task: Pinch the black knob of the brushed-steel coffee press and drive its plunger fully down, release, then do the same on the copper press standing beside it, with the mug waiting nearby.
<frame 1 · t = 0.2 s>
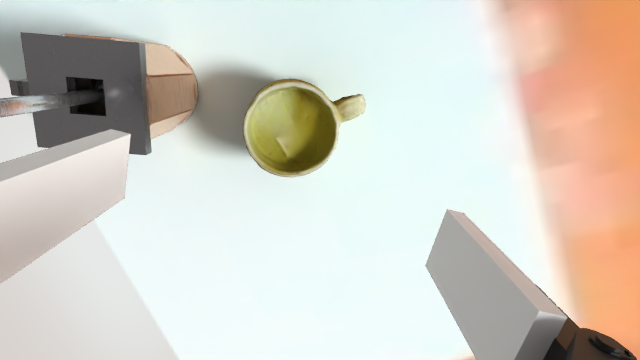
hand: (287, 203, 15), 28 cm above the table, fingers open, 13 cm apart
plunger copper: (29, 104, 23), point 19 cm above the table, slide at 0.0 cm
mug: (306, 117, 42), on the table
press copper: (156, 87, 41), on the table
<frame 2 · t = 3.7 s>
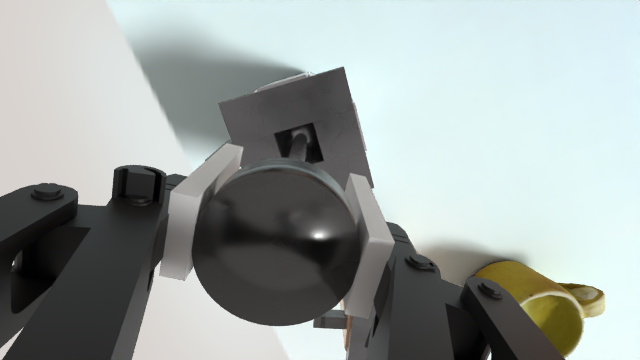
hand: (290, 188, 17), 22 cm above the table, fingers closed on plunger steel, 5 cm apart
plunger steel: (294, 170, 20), point 19 cm above the table, slide at 0.0 cm, touching gripper
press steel: (304, 120, 37), on the table
mug: (513, 283, 44), on the table
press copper: (376, 262, 43), on the table
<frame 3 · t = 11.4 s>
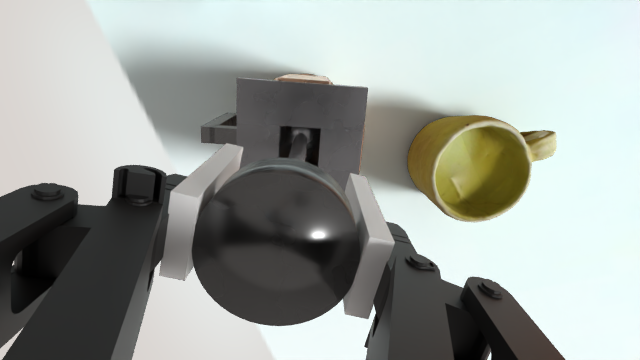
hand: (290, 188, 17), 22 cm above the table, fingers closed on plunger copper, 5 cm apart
plunger copper: (294, 170, 20), point 19 cm above the table, slide at 0.0 cm, touching gripper
mug: (462, 149, 39), on the table
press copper: (304, 120, 38), on the table
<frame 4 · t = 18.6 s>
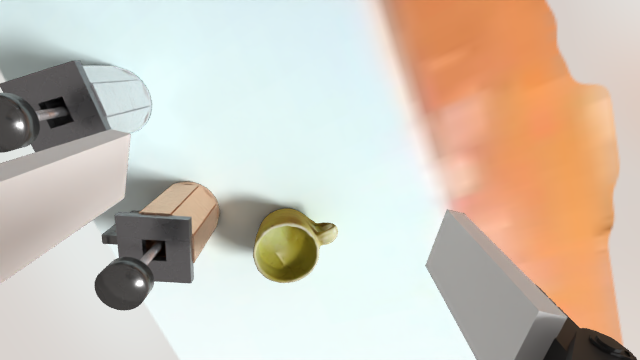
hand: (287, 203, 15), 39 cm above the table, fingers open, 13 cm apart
plunger steel: (63, 111, 40), point 12 cm above the table, slide at 7.0 cm
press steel: (119, 101, 51), on the table
plunger copper: (158, 245, 45), point 12 cm above the table, slide at 7.0 cm
mug: (298, 227, 58), on the table
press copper: (189, 209, 56), on the table
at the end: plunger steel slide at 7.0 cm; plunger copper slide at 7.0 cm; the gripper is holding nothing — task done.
